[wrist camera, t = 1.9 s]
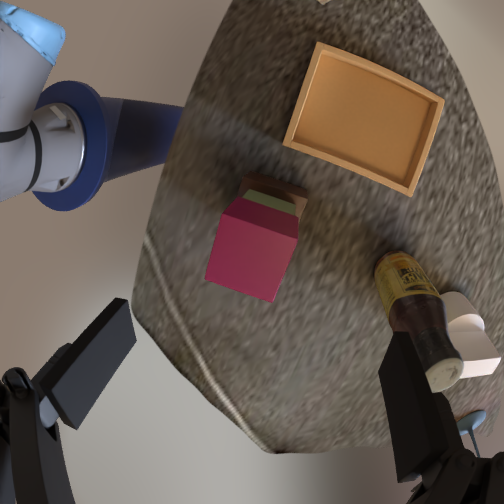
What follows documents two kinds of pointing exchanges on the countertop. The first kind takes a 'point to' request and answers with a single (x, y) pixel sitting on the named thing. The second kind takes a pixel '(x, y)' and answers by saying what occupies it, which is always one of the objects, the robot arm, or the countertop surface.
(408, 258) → the sauce bottle
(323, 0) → the condiment
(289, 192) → the walnut block
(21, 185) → the robot arm
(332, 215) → the countertop surface
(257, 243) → the mulberry block
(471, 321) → the base with upright slab
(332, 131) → the oak tray
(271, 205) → the sage block
